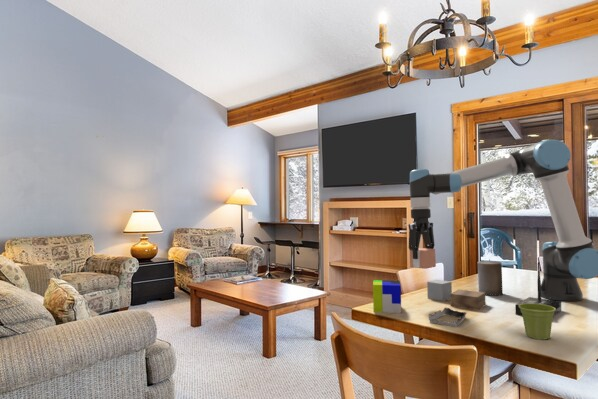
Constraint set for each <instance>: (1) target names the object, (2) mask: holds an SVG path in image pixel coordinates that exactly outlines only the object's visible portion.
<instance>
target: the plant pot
mask: <svg viewBox="0 0 598 399" xmlns="http://www.w3.org/2000/svg"><path fill="white" fill-rule="evenodd" d="M519 308H520V310H521V313H522V315H521V316H522V319H523V325H524V326H523V327H524V330H525V335H526V337H529V338H532V339H535V340H547V339H548V340H549V339H551V334H552V326H553V318H554V317H553V315H554V311H556V308H554V307H552V306H548V305H542V304H533V303H526V304H520V305H519Z"/></svg>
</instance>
